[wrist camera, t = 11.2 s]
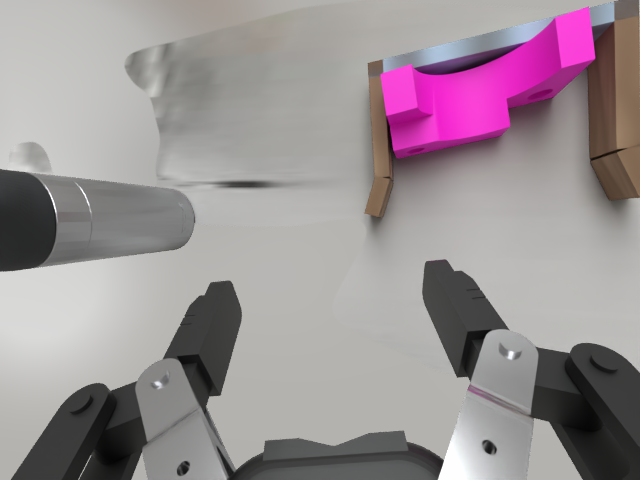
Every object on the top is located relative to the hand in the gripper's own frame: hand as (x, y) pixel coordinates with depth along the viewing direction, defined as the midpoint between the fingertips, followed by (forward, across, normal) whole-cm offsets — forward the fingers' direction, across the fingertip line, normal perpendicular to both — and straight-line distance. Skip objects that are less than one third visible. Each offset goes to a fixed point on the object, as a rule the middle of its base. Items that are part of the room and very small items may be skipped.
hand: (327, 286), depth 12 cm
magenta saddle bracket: (+24, -16, -1) cm, 28 cm away
